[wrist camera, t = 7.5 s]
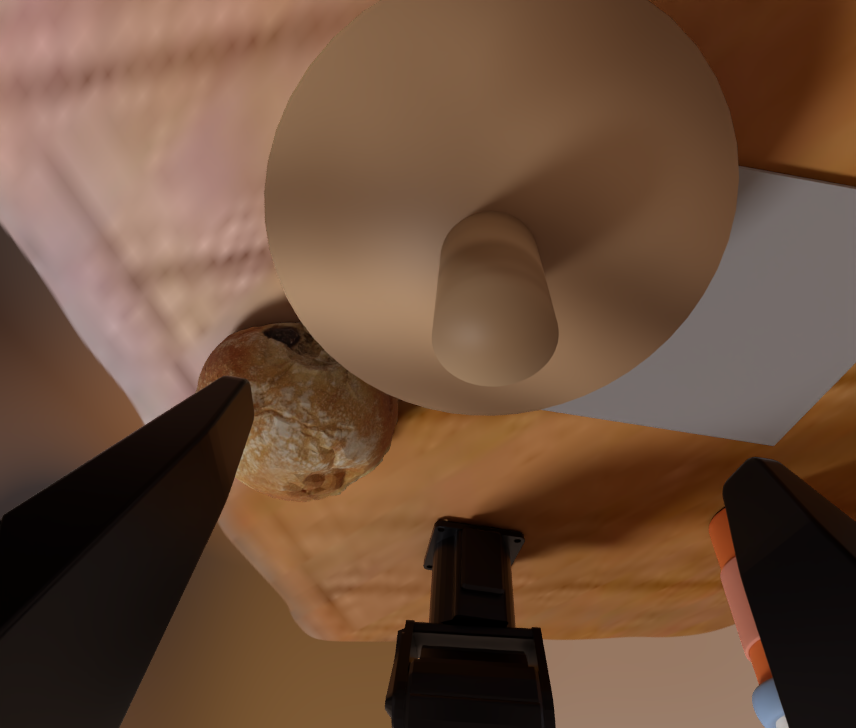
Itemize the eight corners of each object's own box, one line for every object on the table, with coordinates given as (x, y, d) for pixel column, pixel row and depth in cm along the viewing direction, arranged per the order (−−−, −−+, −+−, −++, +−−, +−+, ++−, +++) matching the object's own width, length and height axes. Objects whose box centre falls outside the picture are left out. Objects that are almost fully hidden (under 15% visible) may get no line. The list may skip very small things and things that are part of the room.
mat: (770, 440, 25) (773, 446, 25) (539, 404, 24) (540, 409, 24) (989, 210, 17) (999, 214, 16) (649, 149, 16) (652, 152, 16)
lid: (607, 415, 18) (645, 533, 14) (289, 366, 18) (237, 473, 14) (835, 20, 10) (1071, 39, 6) (259, -91, 10) (111, -150, 6)
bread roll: (404, 307, 26) (378, 331, 18) (407, 473, 28) (385, 557, 20) (235, 307, 26) (140, 329, 19) (252, 468, 29) (174, 547, 21)
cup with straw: (675, 558, 33) (823, 962, 19) (694, 483, 28) (919, 973, 14) (815, 553, 32) (1087, 991, 18) (865, 472, 26) (1316, 1017, 12)
